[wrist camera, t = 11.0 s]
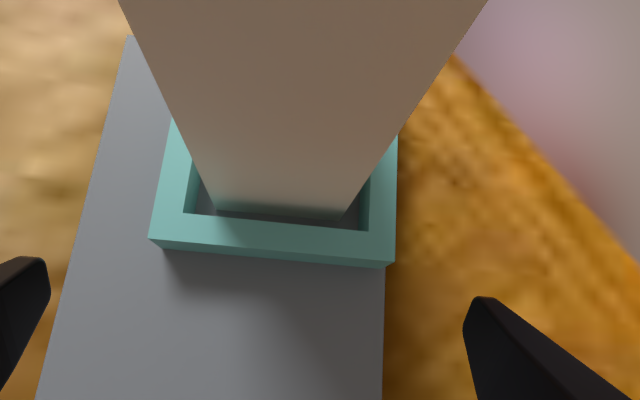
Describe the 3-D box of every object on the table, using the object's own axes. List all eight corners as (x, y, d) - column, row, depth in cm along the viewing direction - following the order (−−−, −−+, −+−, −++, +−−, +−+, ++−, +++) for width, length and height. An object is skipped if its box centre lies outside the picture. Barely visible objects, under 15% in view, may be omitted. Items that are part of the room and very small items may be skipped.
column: (338, 220, 17) (539, -76, 4) (215, 209, 17) (42, -159, 4) (344, 112, 19) (507, -344, 6) (231, 99, 18) (143, -427, 5)
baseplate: (370, 545, 15) (394, 597, 12) (15, 533, 14) (-51, 588, 11) (385, 82, 20) (404, 43, 18) (134, 48, 19) (110, 1, 16)
